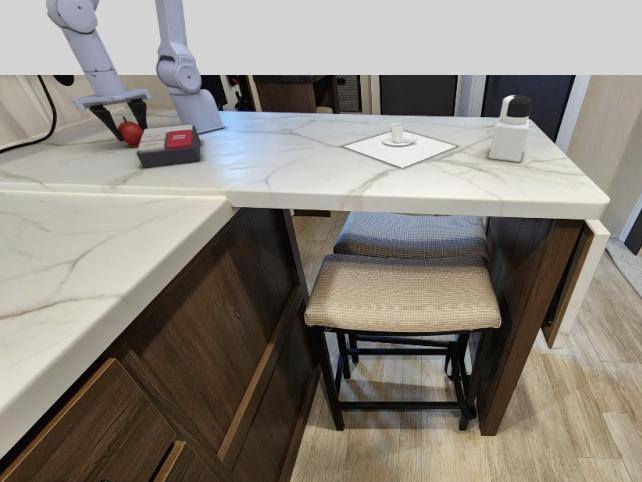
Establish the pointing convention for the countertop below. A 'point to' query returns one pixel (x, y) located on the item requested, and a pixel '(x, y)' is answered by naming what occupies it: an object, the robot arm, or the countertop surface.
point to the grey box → (169, 146)
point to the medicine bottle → (511, 129)
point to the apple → (130, 132)
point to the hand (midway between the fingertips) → (134, 138)
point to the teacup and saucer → (400, 147)
